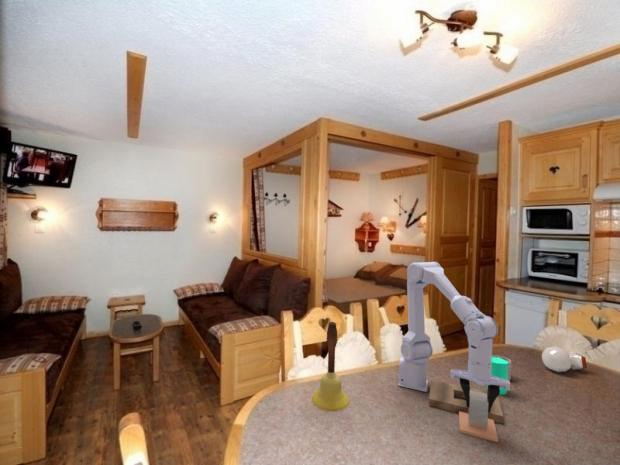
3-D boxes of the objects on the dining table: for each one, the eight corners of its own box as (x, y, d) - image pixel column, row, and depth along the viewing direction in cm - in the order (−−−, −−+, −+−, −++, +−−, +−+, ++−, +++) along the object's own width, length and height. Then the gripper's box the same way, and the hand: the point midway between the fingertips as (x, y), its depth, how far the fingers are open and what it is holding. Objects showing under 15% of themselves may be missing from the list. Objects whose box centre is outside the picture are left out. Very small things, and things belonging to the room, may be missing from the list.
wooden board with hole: (428, 405, 96) (429, 398, 96) (430, 385, 108) (431, 379, 108) (503, 423, 88) (503, 416, 88) (496, 400, 100) (496, 393, 100)
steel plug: (468, 425, 86) (469, 397, 85) (467, 416, 90) (468, 389, 89) (487, 430, 84) (488, 402, 83) (485, 421, 88) (486, 393, 88)
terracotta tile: (459, 432, 84) (460, 429, 84) (458, 413, 92) (458, 411, 92) (498, 442, 80) (498, 439, 80) (493, 422, 89) (493, 419, 89)
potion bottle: (540, 372, 122) (573, 376, 124) (560, 368, 114) (596, 371, 116) (532, 348, 128) (564, 352, 129) (550, 342, 120) (585, 346, 121)
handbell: (342, 387, 106) (343, 315, 105) (355, 408, 94) (357, 327, 93) (307, 391, 103) (309, 317, 102) (316, 413, 91) (318, 330, 90)
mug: (510, 375, 117) (511, 358, 117) (510, 382, 111) (511, 364, 111) (480, 368, 122) (481, 351, 122) (479, 375, 117) (480, 357, 117)
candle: (510, 395, 103) (511, 360, 102) (490, 393, 104) (491, 358, 104) (502, 386, 109) (504, 353, 108) (484, 384, 110) (485, 351, 110)
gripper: (451, 360, 85) (449, 408, 85) (513, 372, 79) (510, 423, 80) (451, 351, 91) (449, 396, 92) (508, 361, 86) (506, 408, 86)
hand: (477, 408), depth 86 cm, fingers closed on steel plug, 4 cm apart
